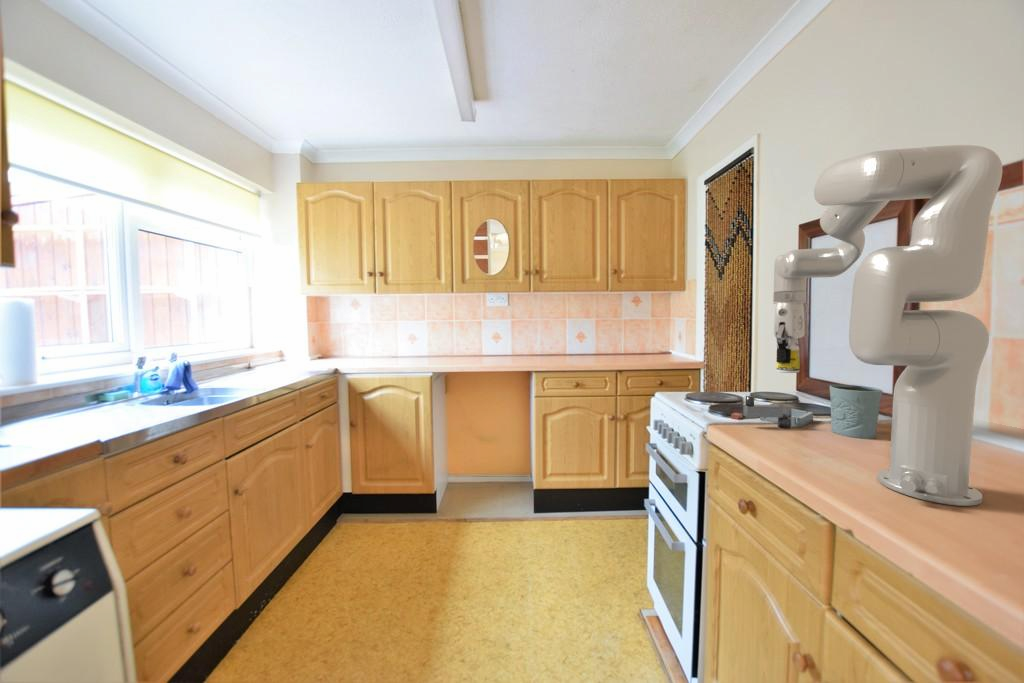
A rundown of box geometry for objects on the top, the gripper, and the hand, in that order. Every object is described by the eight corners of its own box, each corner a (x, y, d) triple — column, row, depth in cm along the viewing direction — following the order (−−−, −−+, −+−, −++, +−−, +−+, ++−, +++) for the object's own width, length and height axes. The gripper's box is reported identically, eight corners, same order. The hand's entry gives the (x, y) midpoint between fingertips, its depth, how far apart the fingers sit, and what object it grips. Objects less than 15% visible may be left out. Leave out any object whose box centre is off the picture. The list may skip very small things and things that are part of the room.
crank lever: (786, 414, 107) (787, 395, 107) (794, 417, 104) (794, 397, 104) (742, 414, 108) (742, 395, 107) (748, 417, 105) (748, 397, 104)
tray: (801, 427, 105) (801, 418, 105) (760, 419, 113) (760, 411, 113) (812, 420, 111) (813, 412, 111) (773, 414, 119) (773, 406, 119)
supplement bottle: (774, 372, 111) (774, 338, 110) (778, 370, 115) (778, 337, 114) (798, 373, 107) (797, 338, 107) (801, 371, 111) (800, 337, 110)
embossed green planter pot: (829, 435, 98) (831, 388, 98) (825, 425, 107) (827, 382, 106) (884, 442, 93) (886, 393, 92) (875, 431, 101) (877, 386, 100)
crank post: (788, 429, 104) (789, 419, 103) (730, 418, 115) (731, 409, 115) (792, 427, 105) (793, 417, 105) (735, 416, 117) (735, 408, 117)
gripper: (794, 297, 101) (792, 365, 103) (814, 298, 112) (812, 360, 113) (762, 298, 107) (760, 363, 108) (784, 299, 118) (782, 358, 119)
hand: (787, 361), depth 111 cm, fingers closed on supplement bottle, 5 cm apart
